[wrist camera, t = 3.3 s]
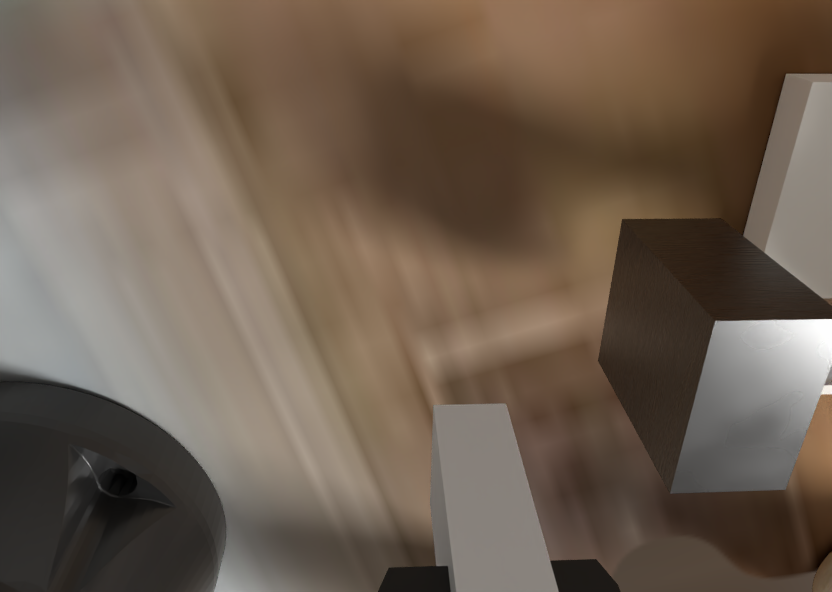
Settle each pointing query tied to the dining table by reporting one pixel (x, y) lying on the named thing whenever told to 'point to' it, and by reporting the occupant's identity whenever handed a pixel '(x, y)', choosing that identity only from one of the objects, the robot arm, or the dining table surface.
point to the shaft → (713, 354)
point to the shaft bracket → (798, 185)
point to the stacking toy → (824, 576)
